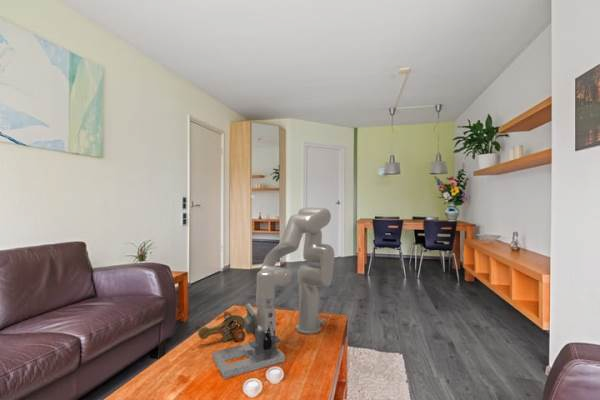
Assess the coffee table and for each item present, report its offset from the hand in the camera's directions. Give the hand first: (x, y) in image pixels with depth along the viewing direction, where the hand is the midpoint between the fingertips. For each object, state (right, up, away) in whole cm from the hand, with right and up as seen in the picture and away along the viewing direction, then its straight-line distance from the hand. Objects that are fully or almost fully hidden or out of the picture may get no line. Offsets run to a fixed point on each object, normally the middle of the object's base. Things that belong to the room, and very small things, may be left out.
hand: (264, 345), depth 120 cm
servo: (0, -1, 0) cm, 1 cm away
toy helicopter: (-20, -4, +12) cm, 23 cm away
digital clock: (-8, -4, +25) cm, 27 cm away
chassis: (-6, -4, -4) cm, 8 cm away
